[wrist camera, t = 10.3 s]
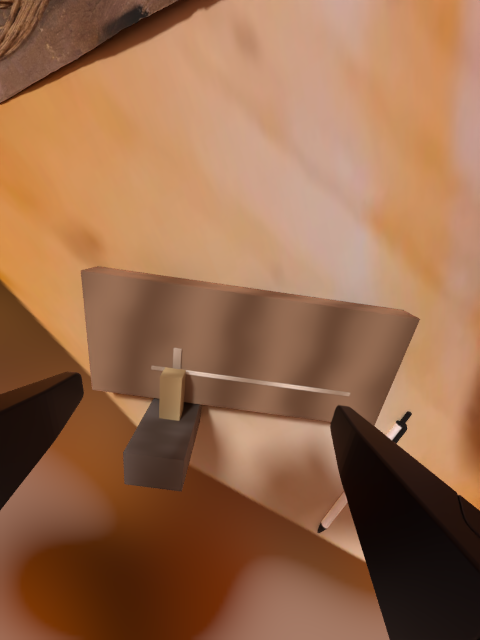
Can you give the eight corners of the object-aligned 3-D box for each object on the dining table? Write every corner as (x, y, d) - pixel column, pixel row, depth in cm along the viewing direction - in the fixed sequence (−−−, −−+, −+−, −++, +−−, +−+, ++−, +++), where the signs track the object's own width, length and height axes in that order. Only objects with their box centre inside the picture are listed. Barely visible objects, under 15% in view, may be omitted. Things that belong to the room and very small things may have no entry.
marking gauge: (206, 357, 21) (187, 413, 15) (199, 420, 23) (181, 491, 17) (159, 351, 21) (120, 404, 14) (158, 415, 23) (124, 484, 17)
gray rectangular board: (403, 310, 19) (421, 319, 17) (363, 411, 23) (374, 428, 21) (97, 266, 19) (79, 270, 17) (105, 376, 22) (91, 390, 20)
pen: (411, 411, 23) (418, 419, 22) (320, 529, 29) (322, 540, 28) (402, 408, 23) (409, 416, 22) (313, 527, 29) (315, 538, 28)
